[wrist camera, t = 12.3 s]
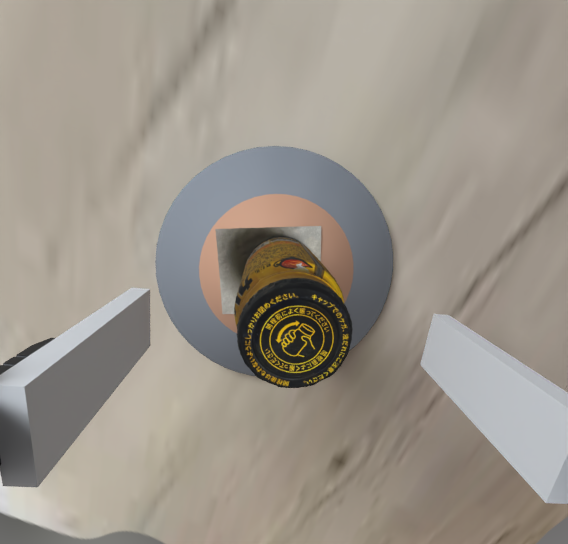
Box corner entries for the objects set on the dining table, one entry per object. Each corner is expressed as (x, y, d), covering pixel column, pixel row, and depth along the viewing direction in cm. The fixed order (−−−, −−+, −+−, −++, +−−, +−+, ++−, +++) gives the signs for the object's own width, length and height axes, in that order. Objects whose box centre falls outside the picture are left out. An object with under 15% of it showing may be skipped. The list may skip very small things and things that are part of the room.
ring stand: (161, 132, 22) (155, 128, 21) (408, 165, 24) (416, 163, 22) (159, 363, 27) (154, 371, 25) (365, 375, 28) (370, 383, 27)
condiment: (320, 309, 25) (368, 403, 13) (222, 313, 24) (184, 415, 13) (320, 225, 23) (377, 250, 12) (215, 228, 23) (164, 257, 11)
